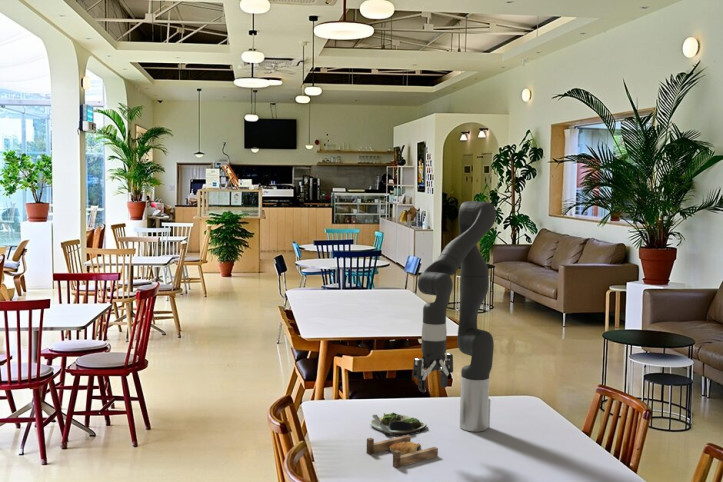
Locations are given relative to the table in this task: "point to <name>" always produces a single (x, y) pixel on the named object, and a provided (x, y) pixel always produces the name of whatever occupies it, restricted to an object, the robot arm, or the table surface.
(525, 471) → the table surface
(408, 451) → the pastry
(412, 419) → the salad plate
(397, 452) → the pair of wooden bars
